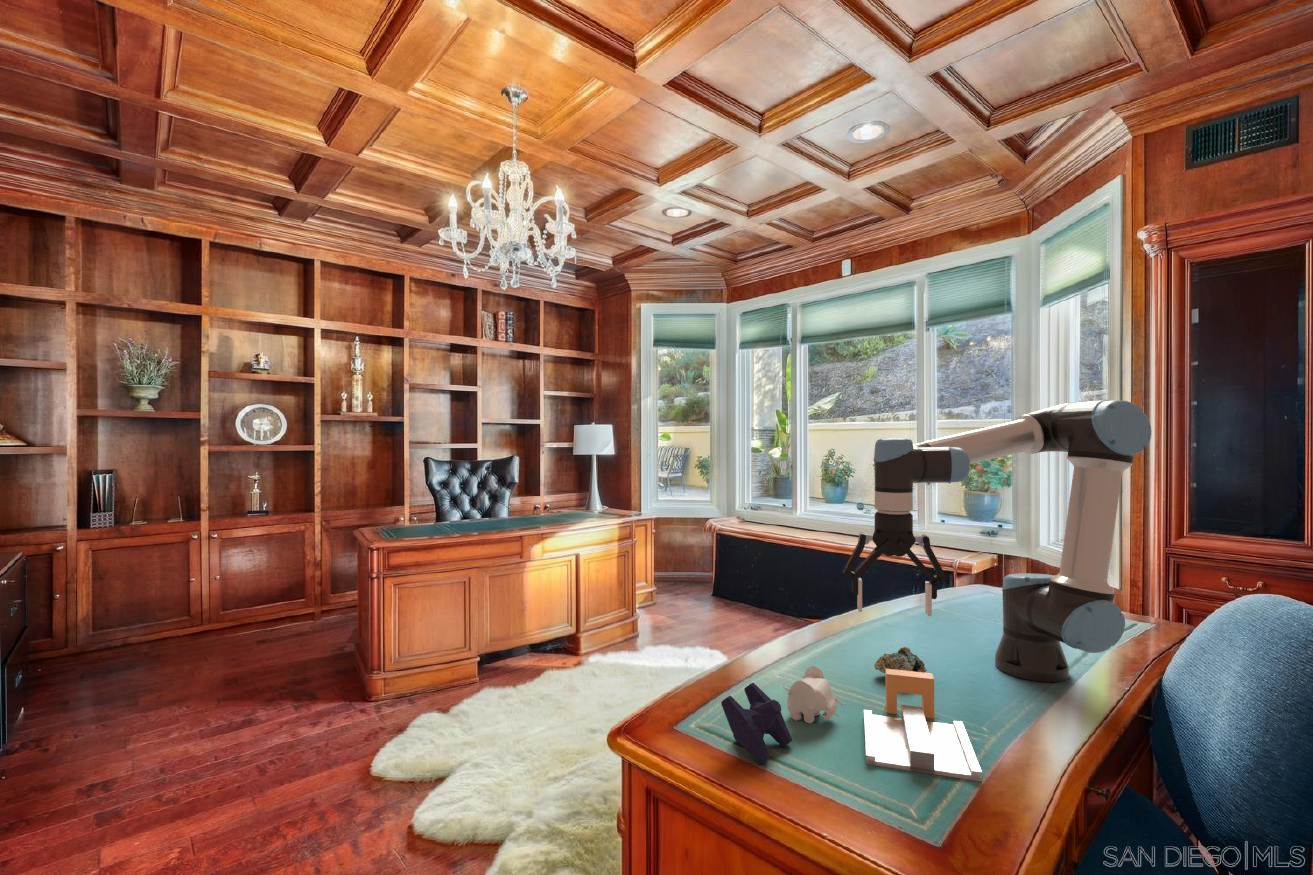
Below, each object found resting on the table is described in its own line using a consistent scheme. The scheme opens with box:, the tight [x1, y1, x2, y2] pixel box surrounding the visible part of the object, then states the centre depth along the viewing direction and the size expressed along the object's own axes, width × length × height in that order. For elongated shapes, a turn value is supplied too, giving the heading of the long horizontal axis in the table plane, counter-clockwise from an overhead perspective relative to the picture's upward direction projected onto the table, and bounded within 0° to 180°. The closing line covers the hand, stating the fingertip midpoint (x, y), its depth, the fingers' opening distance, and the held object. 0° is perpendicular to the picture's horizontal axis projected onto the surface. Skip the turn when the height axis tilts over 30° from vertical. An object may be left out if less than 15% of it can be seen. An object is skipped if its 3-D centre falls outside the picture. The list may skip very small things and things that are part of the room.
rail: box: [863, 704, 983, 782], centre depth 110 cm, size 18×18×4 cm
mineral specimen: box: [873, 646, 928, 675], centre depth 142 cm, size 12×9×8 cm
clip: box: [885, 669, 935, 719], centre depth 124 cm, size 9×3×8 cm, turn 72°
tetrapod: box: [720, 682, 793, 765], centre depth 110 cm, size 11×12×11 cm
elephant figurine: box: [782, 665, 845, 724], centre depth 122 cm, size 10×12×9 cm
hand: (893, 612), depth 127 cm, fingers open, 13 cm apart
